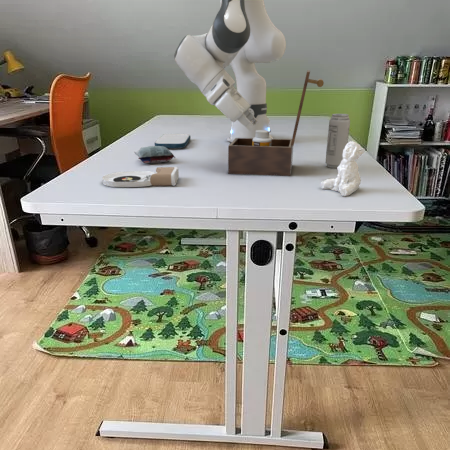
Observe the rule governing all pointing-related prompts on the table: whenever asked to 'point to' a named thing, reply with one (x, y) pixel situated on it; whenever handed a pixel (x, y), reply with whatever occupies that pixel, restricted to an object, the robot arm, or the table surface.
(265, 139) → the supplement bottle
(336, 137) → the energy drink can
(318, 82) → the chest lid
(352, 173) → the white creature statuette
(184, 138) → the external hard drive
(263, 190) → the table surface
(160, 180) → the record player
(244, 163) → the chest
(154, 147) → the packaged food
